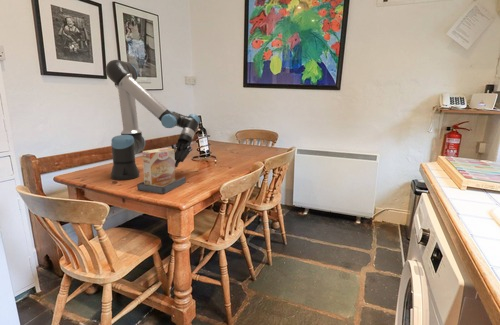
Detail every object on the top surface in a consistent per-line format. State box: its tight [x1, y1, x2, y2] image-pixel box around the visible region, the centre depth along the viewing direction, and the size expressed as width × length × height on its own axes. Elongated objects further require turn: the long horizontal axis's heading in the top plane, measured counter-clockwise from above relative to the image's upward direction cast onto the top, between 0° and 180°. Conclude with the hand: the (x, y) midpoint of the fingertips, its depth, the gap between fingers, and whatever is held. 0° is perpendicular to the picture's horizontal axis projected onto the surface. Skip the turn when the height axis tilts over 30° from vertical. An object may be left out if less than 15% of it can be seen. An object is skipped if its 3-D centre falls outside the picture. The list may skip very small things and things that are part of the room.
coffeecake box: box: [141, 147, 176, 187], centre depth 147 cm, size 15×7×20 cm, turn 143°
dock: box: [137, 176, 186, 195], centre depth 150 cm, size 15×20×3 cm
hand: (171, 171), depth 156 cm, fingers closed
